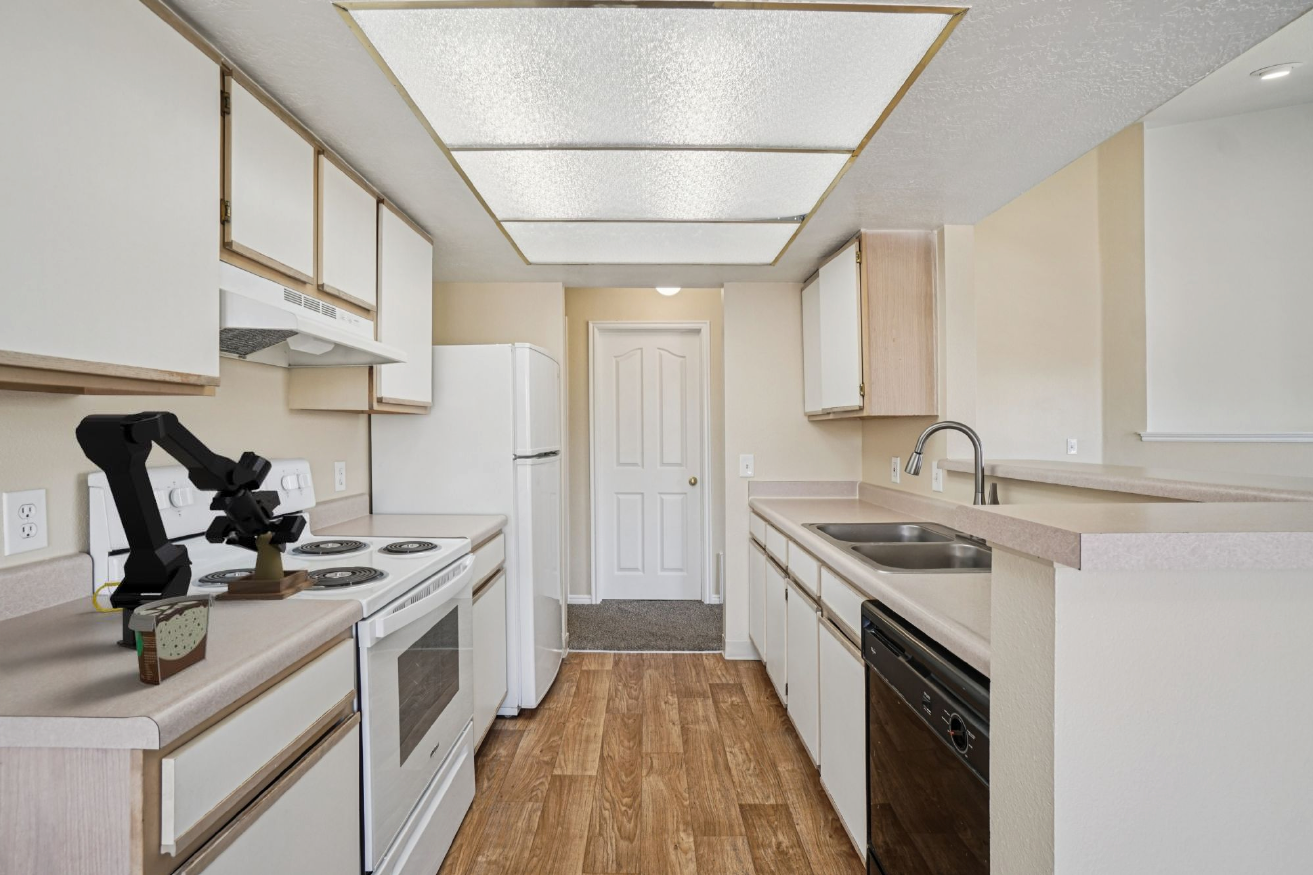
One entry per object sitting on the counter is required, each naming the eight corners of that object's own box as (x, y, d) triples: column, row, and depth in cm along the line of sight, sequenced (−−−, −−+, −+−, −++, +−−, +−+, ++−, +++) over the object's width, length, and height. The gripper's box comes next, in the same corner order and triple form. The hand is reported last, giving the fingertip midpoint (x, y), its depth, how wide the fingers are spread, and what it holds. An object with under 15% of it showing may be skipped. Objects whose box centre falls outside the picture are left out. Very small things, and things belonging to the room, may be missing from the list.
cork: (246, 585, 129) (247, 535, 129) (261, 579, 135) (261, 531, 135) (276, 584, 130) (277, 534, 130) (289, 578, 136) (290, 530, 136)
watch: (133, 608, 121) (136, 578, 121) (130, 611, 118) (133, 581, 119) (93, 610, 117) (96, 580, 118) (90, 614, 115) (93, 583, 115)
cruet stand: (283, 599, 126) (283, 582, 126) (215, 599, 126) (215, 583, 126) (317, 583, 140) (317, 568, 140) (257, 583, 140) (257, 569, 140)
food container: (171, 657, 93) (171, 593, 93) (212, 656, 93) (212, 592, 93) (103, 690, 80) (103, 617, 80) (151, 689, 81) (151, 616, 81)
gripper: (302, 478, 129) (327, 522, 140) (214, 478, 129) (247, 523, 139) (280, 519, 121) (309, 562, 132) (187, 519, 121) (223, 563, 131)
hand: (272, 551), depth 134 cm, fingers closed on cork, 5 cm apart
